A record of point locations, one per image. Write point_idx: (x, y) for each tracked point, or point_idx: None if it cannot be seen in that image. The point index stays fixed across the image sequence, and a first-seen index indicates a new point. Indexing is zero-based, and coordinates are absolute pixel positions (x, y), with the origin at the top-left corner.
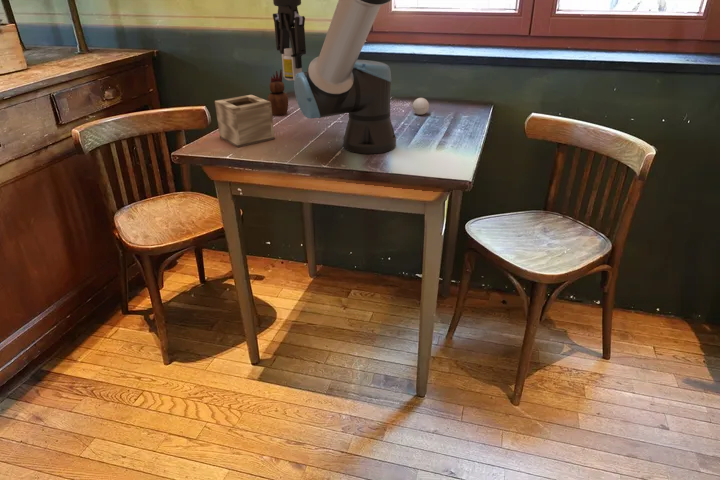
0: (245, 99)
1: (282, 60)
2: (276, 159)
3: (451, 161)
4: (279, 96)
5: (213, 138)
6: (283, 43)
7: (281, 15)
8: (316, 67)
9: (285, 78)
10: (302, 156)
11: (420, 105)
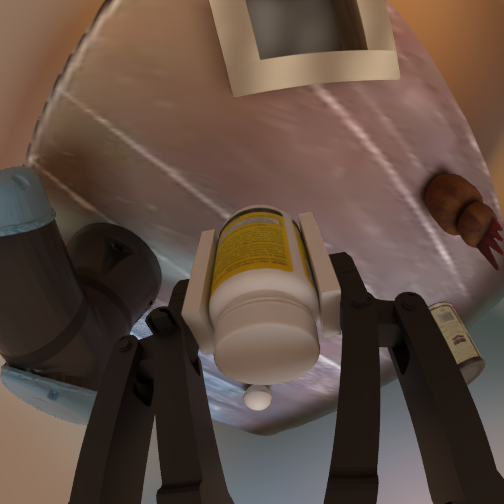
0: (362, 38)
1: (325, 263)
2: (86, 69)
3: None
4: (451, 210)
5: None
6: (341, 364)
7: None
8: None
9: (256, 206)
10: (84, 127)
11: (246, 398)
